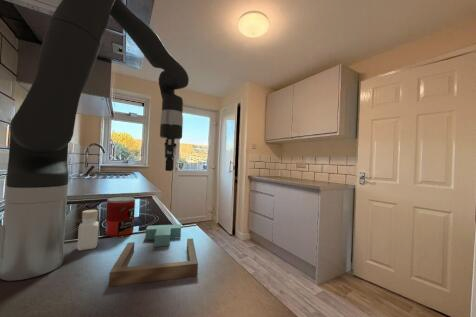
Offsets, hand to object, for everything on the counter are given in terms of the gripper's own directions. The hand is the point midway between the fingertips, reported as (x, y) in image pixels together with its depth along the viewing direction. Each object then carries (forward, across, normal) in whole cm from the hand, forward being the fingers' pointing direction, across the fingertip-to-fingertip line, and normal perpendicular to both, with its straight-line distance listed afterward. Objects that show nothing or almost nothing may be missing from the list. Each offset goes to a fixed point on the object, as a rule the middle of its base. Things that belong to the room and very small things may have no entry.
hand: (169, 170), depth 72 cm
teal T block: (+20, +11, 0) cm, 23 cm away
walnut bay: (+20, +25, 0) cm, 32 cm away
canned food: (+20, +3, -14) cm, 25 cm away
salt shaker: (+20, +13, -19) cm, 31 cm away
